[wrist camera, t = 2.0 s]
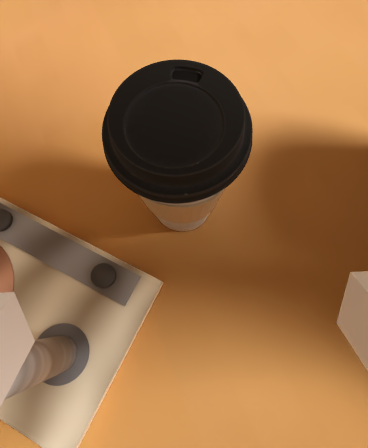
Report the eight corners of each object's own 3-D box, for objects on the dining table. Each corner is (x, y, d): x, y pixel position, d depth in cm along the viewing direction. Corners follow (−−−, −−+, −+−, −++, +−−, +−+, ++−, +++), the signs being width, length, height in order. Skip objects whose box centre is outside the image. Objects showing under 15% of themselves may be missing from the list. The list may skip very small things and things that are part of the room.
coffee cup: (211, 157, 32) (229, 34, 18) (238, 235, 30) (284, 163, 15) (129, 179, 32) (80, 68, 17) (149, 260, 29) (110, 209, 15)
